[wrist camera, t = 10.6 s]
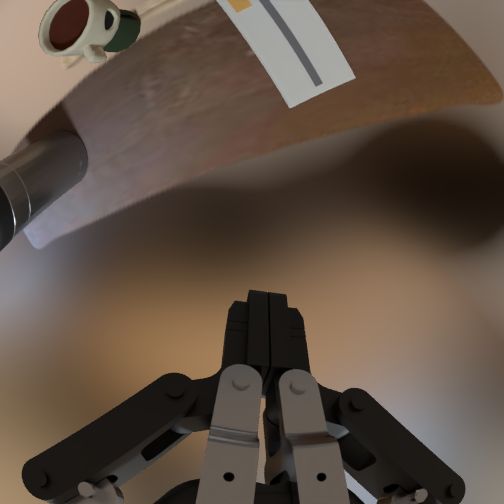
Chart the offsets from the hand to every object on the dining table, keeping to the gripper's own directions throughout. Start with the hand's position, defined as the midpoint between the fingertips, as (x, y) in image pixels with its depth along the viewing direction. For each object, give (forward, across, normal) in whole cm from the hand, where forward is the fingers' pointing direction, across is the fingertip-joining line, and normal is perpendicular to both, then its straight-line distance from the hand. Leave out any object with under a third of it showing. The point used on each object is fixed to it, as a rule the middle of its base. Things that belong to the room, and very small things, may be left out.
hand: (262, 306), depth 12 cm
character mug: (+29, +21, -14) cm, 38 cm away
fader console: (+28, +1, -17) cm, 33 cm away
